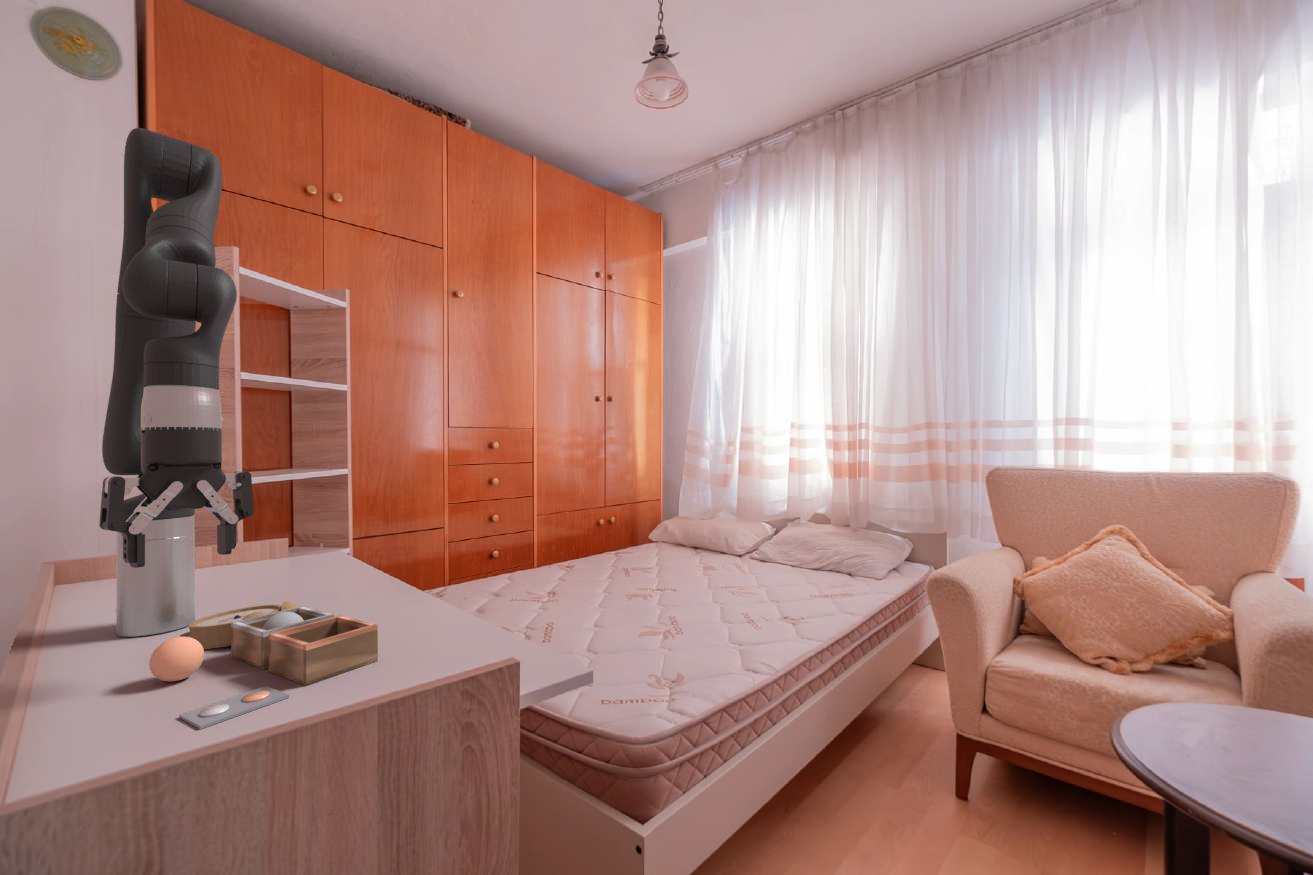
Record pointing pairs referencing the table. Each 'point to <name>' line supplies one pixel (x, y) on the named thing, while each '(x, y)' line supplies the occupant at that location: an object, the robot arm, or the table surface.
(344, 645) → the terracotta-rimmed square box
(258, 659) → the grey-band box
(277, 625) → the grey ball
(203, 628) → the alarm clock
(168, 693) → the table surface
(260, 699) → the card
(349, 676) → the table surface
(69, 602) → the table surface
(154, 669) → the terracotta ball
